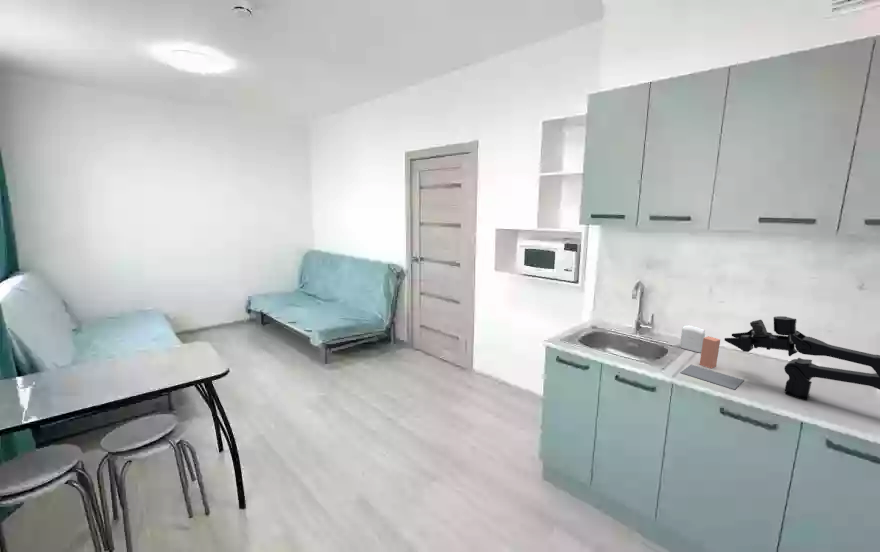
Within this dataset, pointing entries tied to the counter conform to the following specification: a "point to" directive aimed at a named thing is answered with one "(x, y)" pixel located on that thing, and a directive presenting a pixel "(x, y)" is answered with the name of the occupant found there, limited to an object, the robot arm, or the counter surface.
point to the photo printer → (692, 338)
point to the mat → (712, 376)
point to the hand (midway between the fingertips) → (728, 337)
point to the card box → (709, 352)
